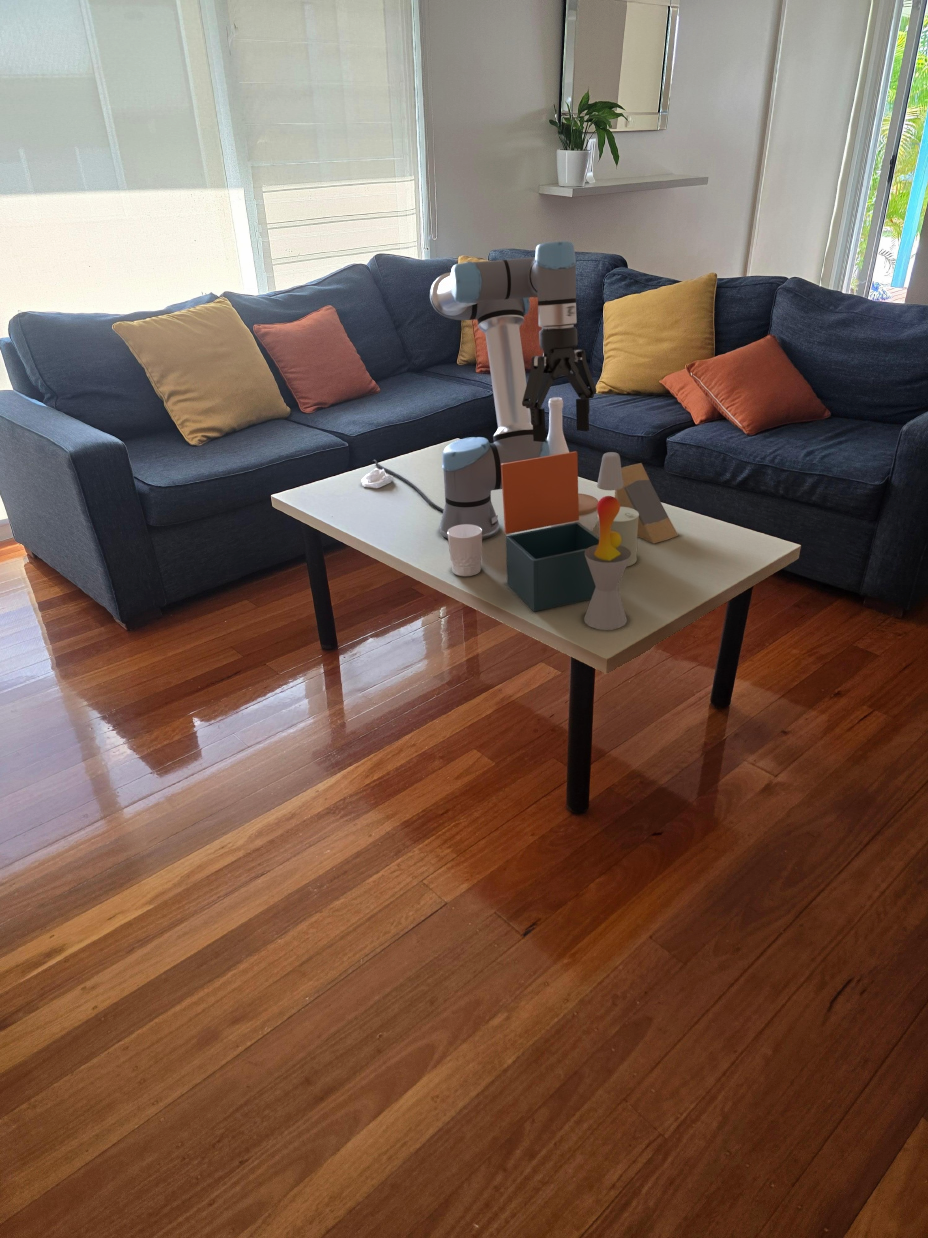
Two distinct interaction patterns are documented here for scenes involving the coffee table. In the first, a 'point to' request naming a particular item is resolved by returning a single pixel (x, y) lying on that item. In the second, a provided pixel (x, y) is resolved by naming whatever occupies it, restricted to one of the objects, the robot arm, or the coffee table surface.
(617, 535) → the lava lamp
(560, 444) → the wine bottle
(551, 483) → the lid
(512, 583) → the container
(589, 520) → the lidded bowl
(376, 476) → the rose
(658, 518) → the sandwich container
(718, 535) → the coffee table surface
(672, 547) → the coffee table surface
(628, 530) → the can
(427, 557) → the coffee table surface
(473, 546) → the white cup
